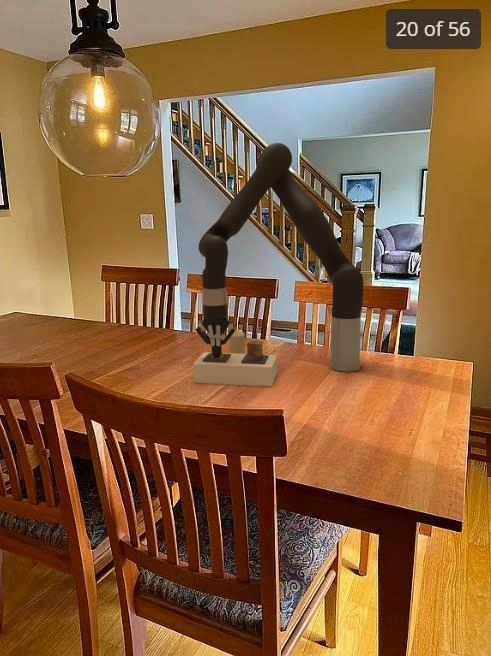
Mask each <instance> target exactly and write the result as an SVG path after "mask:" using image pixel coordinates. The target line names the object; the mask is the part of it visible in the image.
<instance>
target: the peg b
mask: <svg viewBox="0 0 491 656" xmlns="http://www.w3.org/2000/svg"><path fill="white" fill-rule="evenodd" d="M246 351H247V353H246V354H247V360H249V361H262V359H263V355H264V353H263V340H257V339H255V340H254V339H253V340H252V339H251V340H249V341H248V342H247V344H246Z"/></svg>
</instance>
